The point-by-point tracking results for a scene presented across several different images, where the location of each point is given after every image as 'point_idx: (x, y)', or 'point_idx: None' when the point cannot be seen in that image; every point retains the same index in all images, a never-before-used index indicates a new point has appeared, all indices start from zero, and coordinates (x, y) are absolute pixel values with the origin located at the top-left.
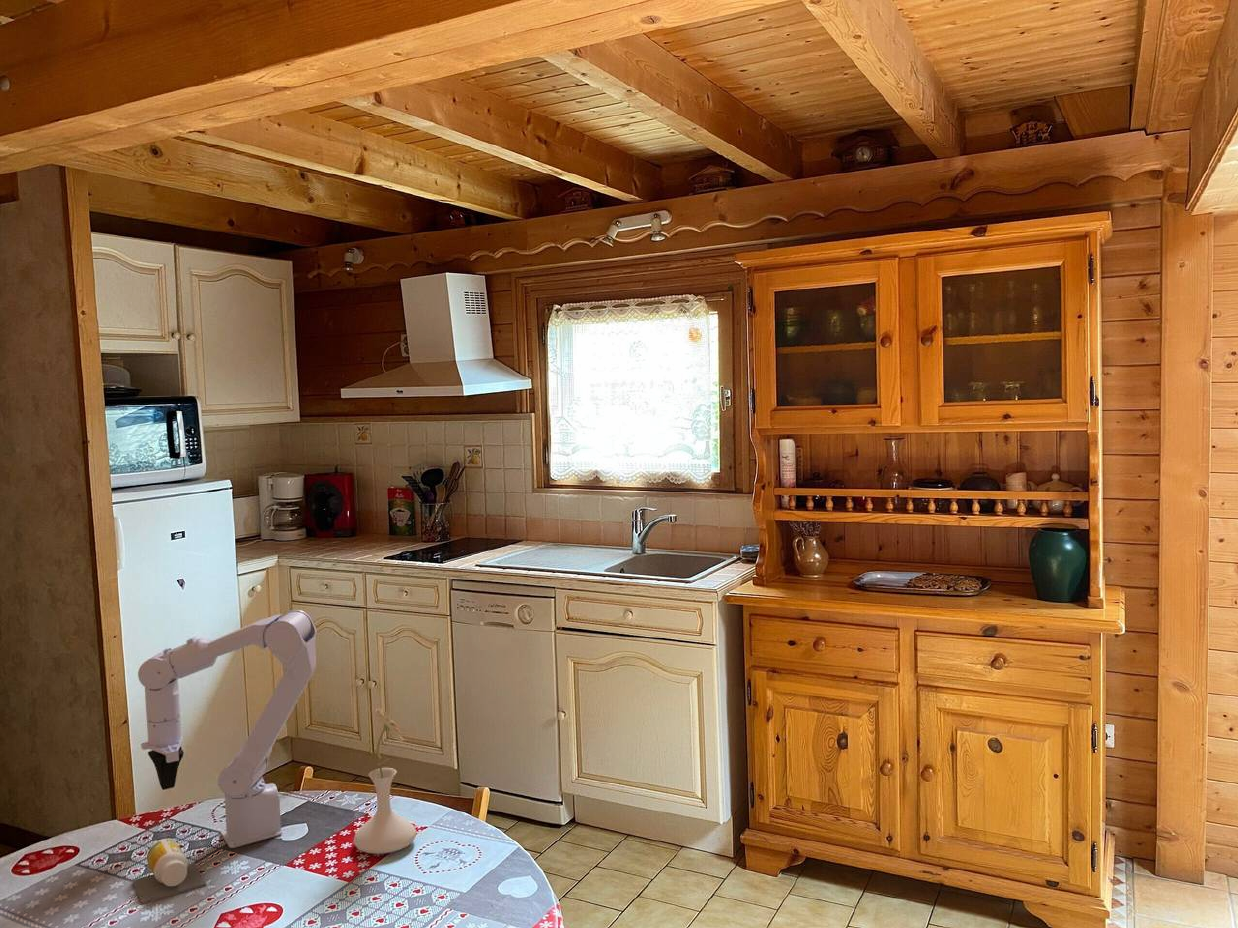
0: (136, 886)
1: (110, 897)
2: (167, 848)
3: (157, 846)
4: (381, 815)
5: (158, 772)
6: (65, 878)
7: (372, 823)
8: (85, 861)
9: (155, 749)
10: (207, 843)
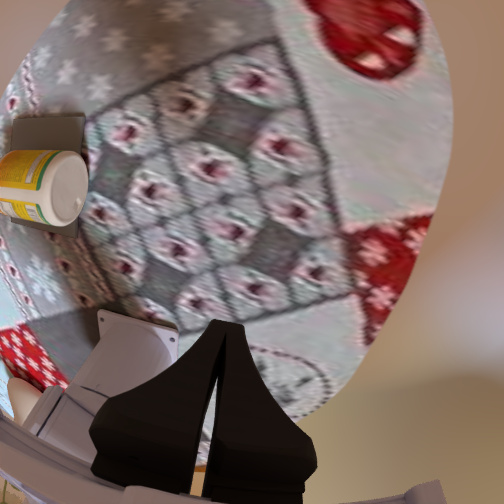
0: (56, 118)
1: (64, 72)
2: (5, 191)
3: (29, 177)
4: (14, 417)
5: (171, 365)
6: (218, 5)
7: (16, 407)
8: (277, 56)
9: (44, 478)
10: (152, 293)
